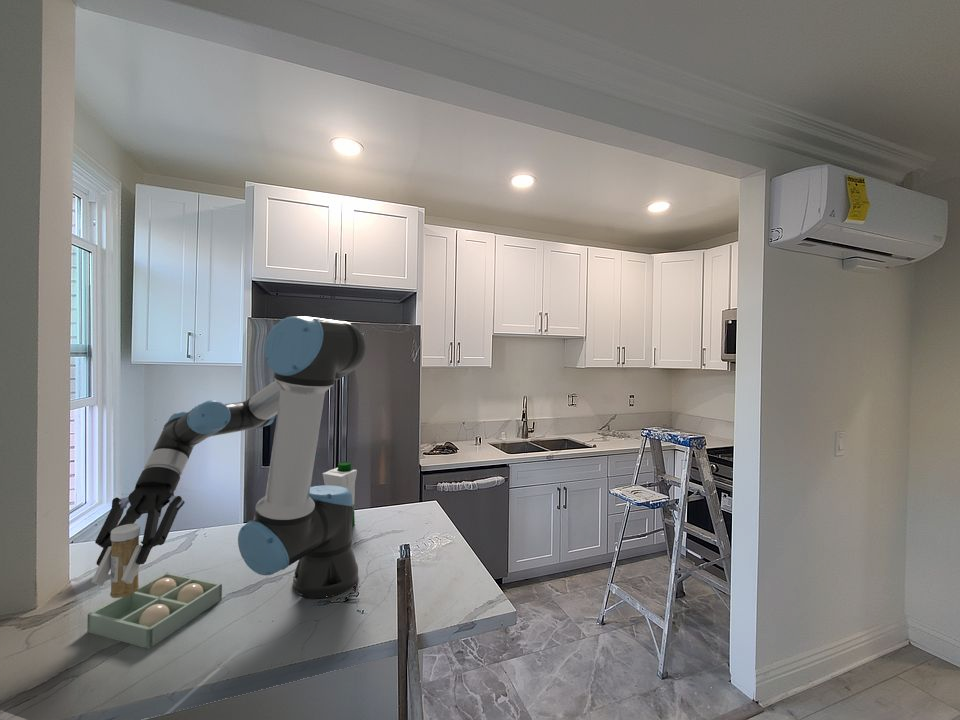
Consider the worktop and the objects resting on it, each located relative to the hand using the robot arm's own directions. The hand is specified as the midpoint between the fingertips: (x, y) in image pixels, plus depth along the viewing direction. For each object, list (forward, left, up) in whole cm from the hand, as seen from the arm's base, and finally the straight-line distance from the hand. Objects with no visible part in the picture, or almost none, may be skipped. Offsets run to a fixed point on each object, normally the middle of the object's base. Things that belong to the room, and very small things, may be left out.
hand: (111, 582), depth 79 cm
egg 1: (+1, -11, -10) cm, 15 cm away
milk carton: (-13, -57, -11) cm, 60 cm away
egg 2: (-7, -3, -10) cm, 13 cm away
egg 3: (-7, -11, -10) cm, 16 cm away
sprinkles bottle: (+2, -3, -4) cm, 6 cm away
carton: (-3, -7, -11) cm, 13 cm away
